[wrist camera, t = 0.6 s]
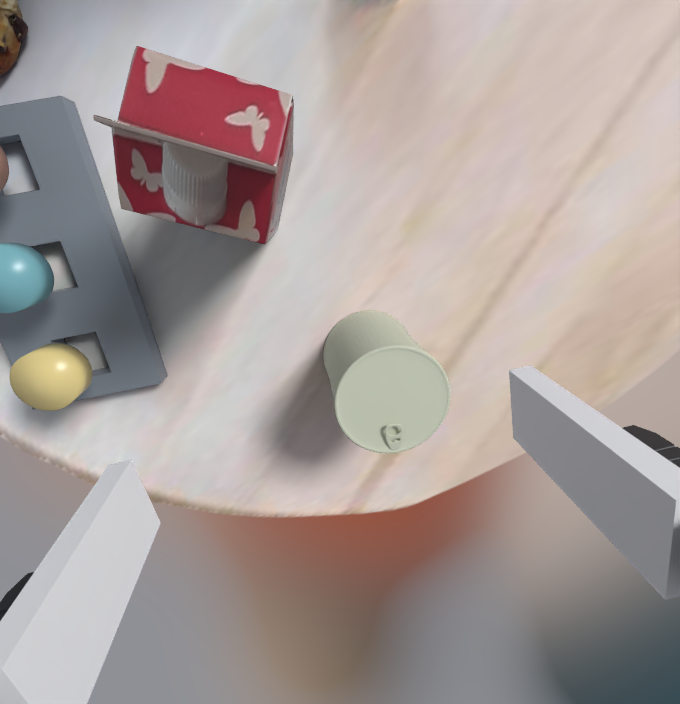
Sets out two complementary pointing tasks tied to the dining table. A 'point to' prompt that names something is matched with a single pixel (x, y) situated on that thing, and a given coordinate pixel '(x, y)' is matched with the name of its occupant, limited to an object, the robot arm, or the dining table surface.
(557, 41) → the dining table surface
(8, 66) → the bread roll
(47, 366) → the mustard button
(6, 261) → the teal button
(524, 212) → the dining table surface
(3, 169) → the terracotta button
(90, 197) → the button board
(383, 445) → the can
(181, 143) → the juice carton
